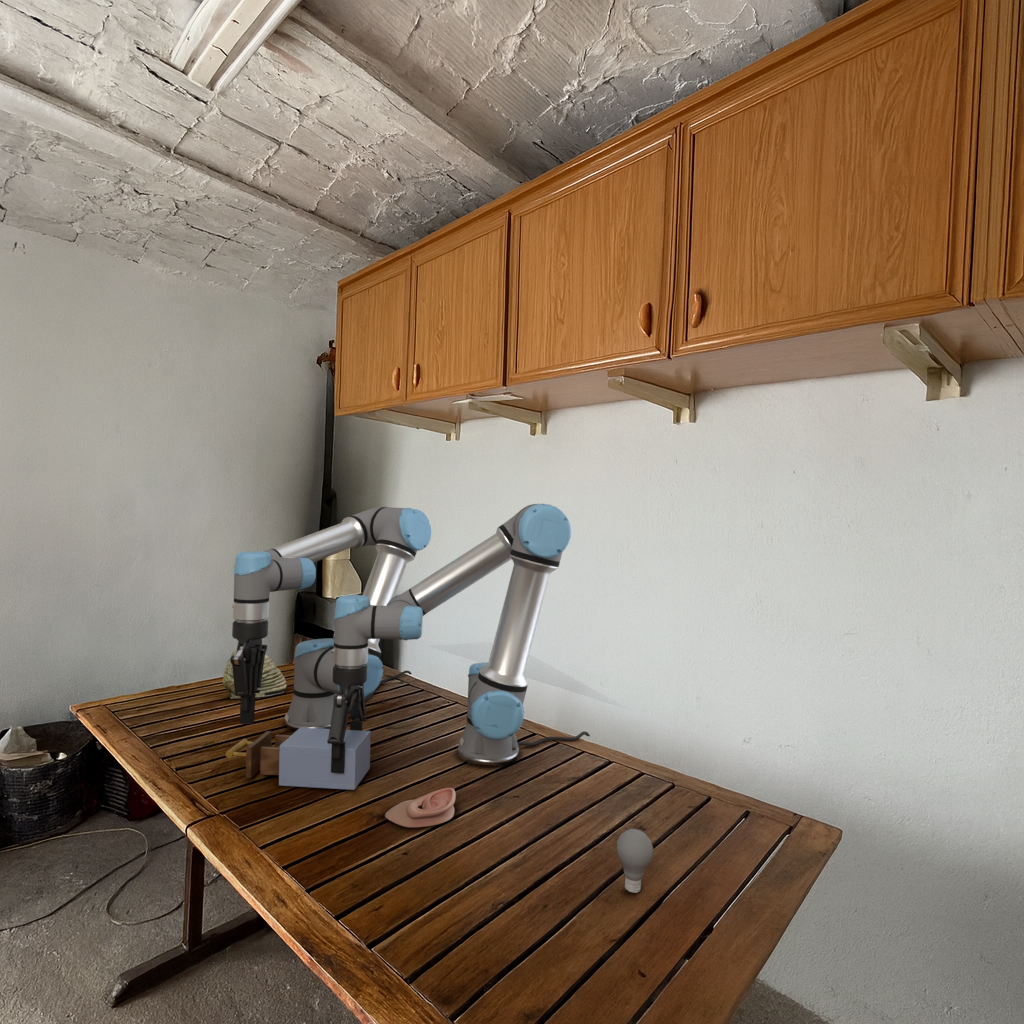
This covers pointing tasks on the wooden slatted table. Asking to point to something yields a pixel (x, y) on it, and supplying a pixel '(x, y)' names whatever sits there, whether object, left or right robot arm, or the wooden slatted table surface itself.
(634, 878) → the light bulb
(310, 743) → the cabinet
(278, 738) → the drawer
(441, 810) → the anatomical model
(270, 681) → the fossil
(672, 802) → the wooden slatted table surface
